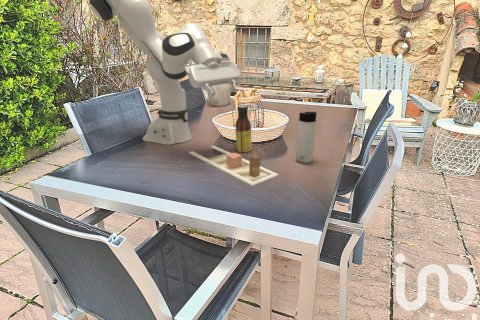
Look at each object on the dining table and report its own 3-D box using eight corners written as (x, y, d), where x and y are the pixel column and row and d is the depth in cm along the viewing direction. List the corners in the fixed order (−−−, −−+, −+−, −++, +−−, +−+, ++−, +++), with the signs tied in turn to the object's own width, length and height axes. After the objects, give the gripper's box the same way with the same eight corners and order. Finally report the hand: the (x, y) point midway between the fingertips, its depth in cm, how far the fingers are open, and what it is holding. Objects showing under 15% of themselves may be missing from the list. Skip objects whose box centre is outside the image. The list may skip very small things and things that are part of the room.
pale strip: (206, 161, 126) (205, 141, 123) (223, 156, 131) (222, 137, 127) (251, 184, 107) (251, 162, 104) (268, 177, 112) (269, 156, 109)
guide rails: (189, 156, 131) (189, 152, 130) (214, 149, 138) (213, 145, 137) (252, 190, 105) (252, 184, 104) (278, 179, 112) (278, 174, 111)
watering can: (198, 108, 207) (196, 78, 200) (217, 100, 230) (216, 72, 223) (219, 110, 202) (218, 79, 194) (237, 102, 224) (237, 74, 217)
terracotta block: (226, 165, 119) (226, 155, 118) (234, 162, 122) (234, 152, 120) (233, 168, 117) (233, 158, 115) (241, 165, 119) (241, 155, 118)
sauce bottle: (253, 151, 136) (254, 105, 129) (248, 156, 131) (249, 108, 123) (238, 149, 138) (238, 103, 131) (233, 155, 133) (233, 107, 125)
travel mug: (303, 166, 122) (307, 114, 115) (292, 160, 128) (296, 110, 120) (316, 163, 125) (321, 112, 117) (305, 157, 130) (309, 108, 123)
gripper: (185, 58, 109) (202, 91, 106) (232, 54, 121) (249, 84, 118) (179, 70, 114) (196, 102, 111) (225, 65, 126) (242, 94, 123)
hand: (224, 93), depth 114 cm, fingers open, 8 cm apart
